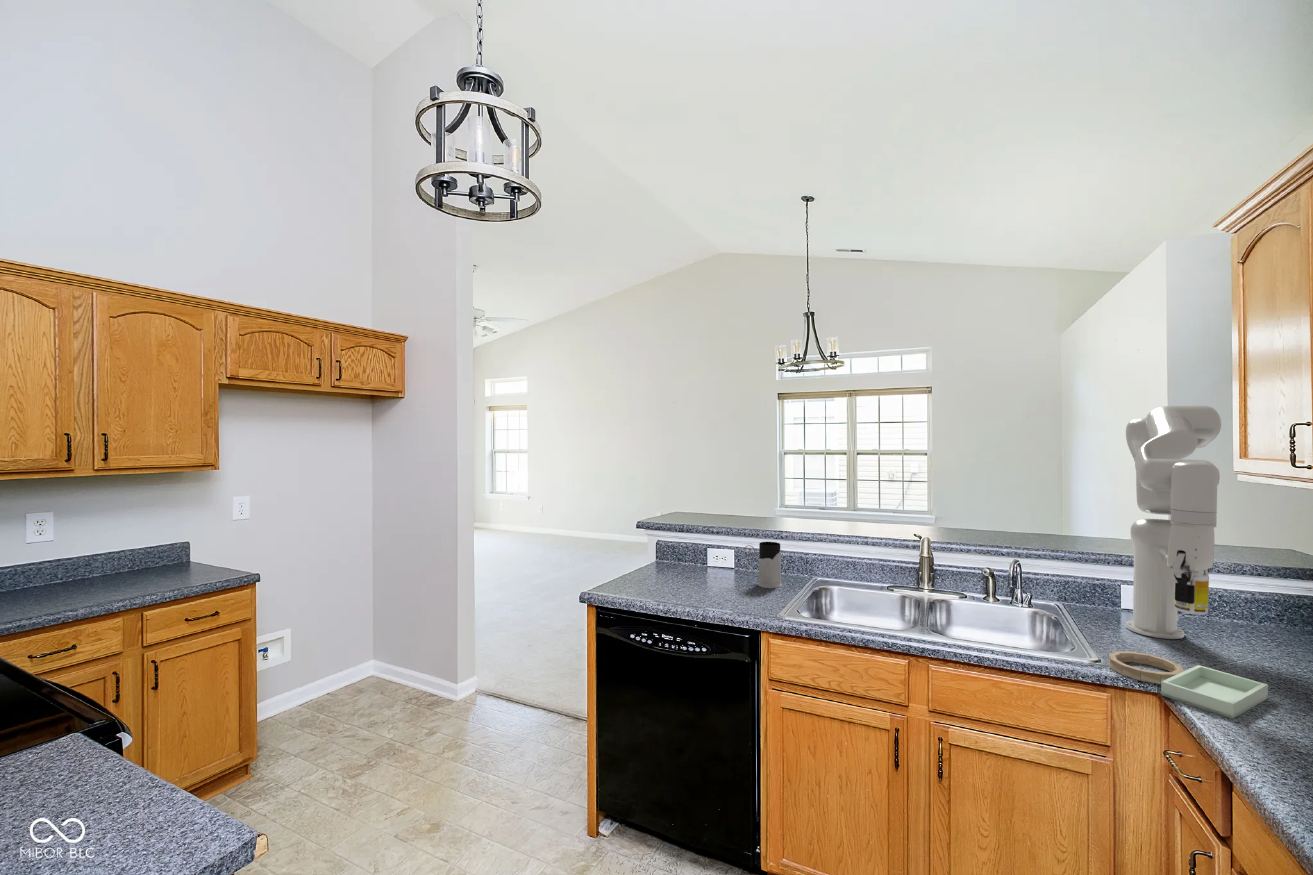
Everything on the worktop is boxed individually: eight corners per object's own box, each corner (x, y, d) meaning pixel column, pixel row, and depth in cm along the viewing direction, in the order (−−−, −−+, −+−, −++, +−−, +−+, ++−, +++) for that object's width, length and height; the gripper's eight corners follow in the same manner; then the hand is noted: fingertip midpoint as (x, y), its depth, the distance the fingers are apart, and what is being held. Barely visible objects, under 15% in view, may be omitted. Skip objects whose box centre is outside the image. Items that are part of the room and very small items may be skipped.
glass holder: (778, 589, 209) (778, 547, 208) (739, 584, 215) (739, 543, 215) (784, 583, 217) (784, 542, 216) (747, 578, 223) (747, 539, 222)
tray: (1197, 677, 136) (1198, 664, 136) (1267, 698, 126) (1268, 684, 126) (1161, 695, 128) (1161, 681, 128) (1232, 718, 118) (1233, 703, 117)
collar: (1125, 656, 149) (1126, 647, 149) (1193, 676, 137) (1194, 666, 137) (1098, 666, 142) (1098, 657, 142) (1166, 688, 131) (1167, 679, 131)
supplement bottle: (1208, 611, 131) (1209, 565, 131) (1207, 617, 127) (1208, 569, 127) (1175, 606, 135) (1176, 561, 134) (1173, 611, 131) (1174, 565, 130)
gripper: (1190, 513, 137) (1188, 590, 138) (1152, 518, 130) (1151, 600, 130) (1233, 518, 131) (1231, 599, 131) (1196, 523, 123) (1194, 610, 123)
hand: (1191, 599), depth 131 cm, fingers closed on supplement bottle, 5 cm apart
